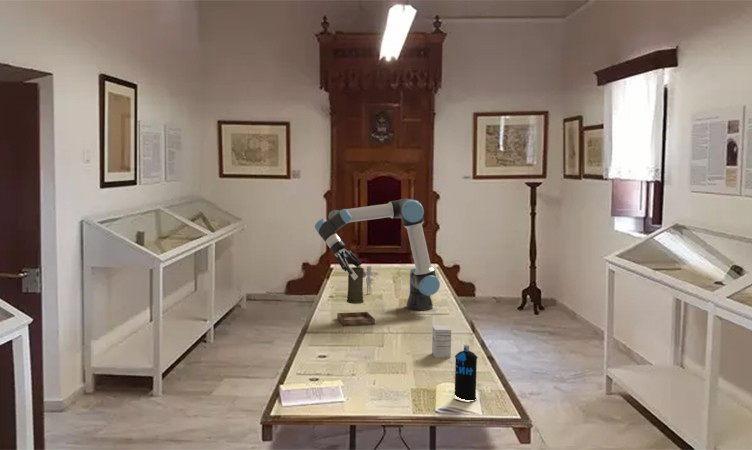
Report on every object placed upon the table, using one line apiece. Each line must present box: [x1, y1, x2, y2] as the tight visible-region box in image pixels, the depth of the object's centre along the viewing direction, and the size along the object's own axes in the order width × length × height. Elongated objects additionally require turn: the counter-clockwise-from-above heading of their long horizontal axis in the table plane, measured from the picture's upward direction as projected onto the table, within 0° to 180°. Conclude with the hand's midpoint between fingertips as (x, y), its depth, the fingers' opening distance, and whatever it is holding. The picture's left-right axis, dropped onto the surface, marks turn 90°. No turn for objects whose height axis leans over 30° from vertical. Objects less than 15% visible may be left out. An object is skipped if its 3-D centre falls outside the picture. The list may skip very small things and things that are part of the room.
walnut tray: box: [336, 311, 376, 327], centre depth 382 cm, size 17×17×3 cm
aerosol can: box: [454, 344, 479, 401], centre depth 265 cm, size 8×8×20 cm
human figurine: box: [365, 265, 379, 295], centre depth 452 cm, size 12×4×18 cm, turn 97°
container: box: [346, 266, 365, 305], centre depth 380 cm, size 9×9×18 cm
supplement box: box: [431, 325, 452, 359], centre depth 320 cm, size 7×7×13 cm
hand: (360, 277), depth 378 cm, fingers closed on container, 8 cm apart
